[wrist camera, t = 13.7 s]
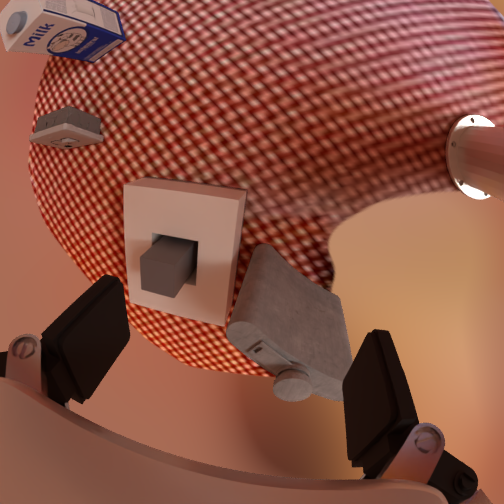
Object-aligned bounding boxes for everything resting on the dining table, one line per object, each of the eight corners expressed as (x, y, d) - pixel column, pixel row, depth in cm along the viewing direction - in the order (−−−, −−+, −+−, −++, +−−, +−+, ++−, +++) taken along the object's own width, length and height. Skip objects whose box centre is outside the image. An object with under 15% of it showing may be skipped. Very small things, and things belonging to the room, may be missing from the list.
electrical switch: (66, 149, 37) (27, 152, 28) (67, 120, 35) (28, 119, 27) (106, 141, 36) (65, 141, 27) (107, 110, 34) (67, 103, 25)
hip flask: (344, 301, 41) (366, 408, 23) (326, 317, 42) (336, 425, 24) (262, 238, 39) (233, 334, 21) (245, 259, 40) (207, 359, 22)
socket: (247, 189, 36) (239, 200, 31) (232, 303, 44) (224, 326, 38) (145, 176, 37) (123, 184, 32) (146, 283, 45) (129, 302, 39)
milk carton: (119, 11, 26) (31, -24, 8) (127, 39, 29) (30, 8, 10) (86, 35, 28) (-5, 17, 10) (92, 63, 30) (-6, 52, 12)
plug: (202, 233, 38) (174, 265, 29) (199, 261, 40) (174, 298, 31) (173, 227, 39) (139, 256, 30) (172, 255, 41) (141, 289, 31)
